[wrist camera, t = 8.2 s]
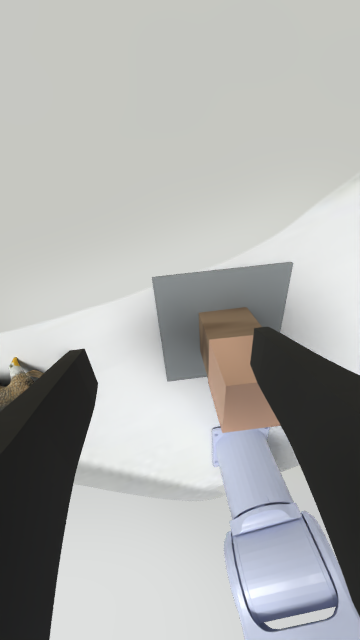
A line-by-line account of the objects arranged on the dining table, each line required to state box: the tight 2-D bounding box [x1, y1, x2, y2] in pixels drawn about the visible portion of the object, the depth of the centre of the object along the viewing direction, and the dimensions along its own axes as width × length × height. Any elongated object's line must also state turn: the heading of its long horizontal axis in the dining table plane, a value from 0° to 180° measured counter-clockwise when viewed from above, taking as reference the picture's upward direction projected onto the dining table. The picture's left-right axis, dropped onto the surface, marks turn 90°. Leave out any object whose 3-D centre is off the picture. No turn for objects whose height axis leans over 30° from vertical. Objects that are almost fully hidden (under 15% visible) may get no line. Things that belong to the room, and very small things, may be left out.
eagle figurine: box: [0, 357, 44, 411], centre depth 20 cm, size 8×7×9 cm
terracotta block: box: [208, 335, 281, 433], centre depth 16 cm, size 4×4×4 cm
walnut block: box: [199, 307, 262, 377], centre depth 20 cm, size 4×4×4 cm
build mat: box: [152, 262, 293, 381], centre depth 22 cm, size 12×12×1 cm
